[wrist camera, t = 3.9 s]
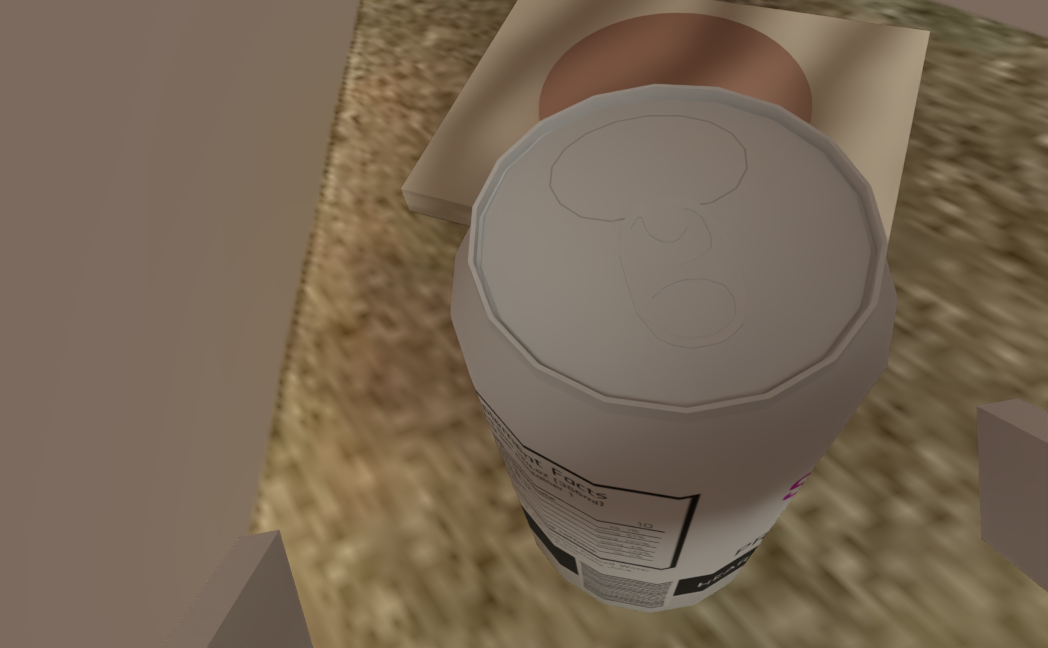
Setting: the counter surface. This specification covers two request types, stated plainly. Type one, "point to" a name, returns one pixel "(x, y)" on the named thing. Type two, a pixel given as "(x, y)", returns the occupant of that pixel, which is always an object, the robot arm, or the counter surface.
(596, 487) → the supplement can
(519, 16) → the mount board
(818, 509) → the counter surface
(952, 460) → the counter surface
